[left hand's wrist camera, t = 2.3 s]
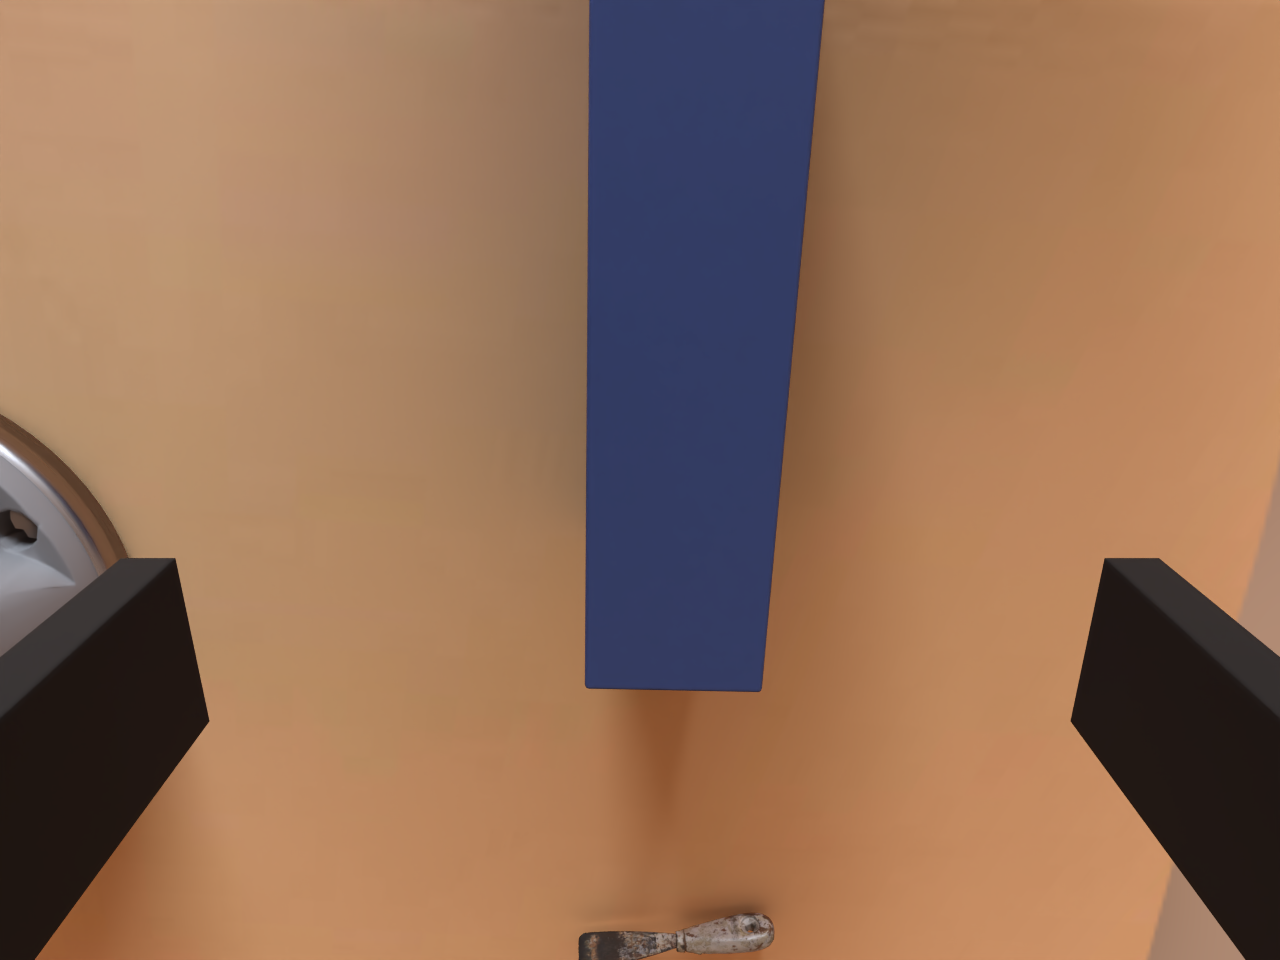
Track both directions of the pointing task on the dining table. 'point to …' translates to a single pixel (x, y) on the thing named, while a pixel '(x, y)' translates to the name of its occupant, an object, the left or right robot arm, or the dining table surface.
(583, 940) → the putty knife
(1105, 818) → the dining table surface
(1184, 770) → the left robot arm
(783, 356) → the bar
